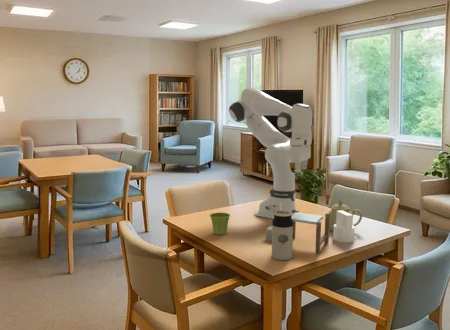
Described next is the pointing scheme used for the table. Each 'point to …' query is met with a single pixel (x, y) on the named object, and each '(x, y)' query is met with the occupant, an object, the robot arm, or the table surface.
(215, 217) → the plant pot
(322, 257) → the table surface
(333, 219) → the olive teapot
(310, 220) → the trapdoor
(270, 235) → the stone
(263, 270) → the table surface
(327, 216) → the frame
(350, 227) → the base with upright slab
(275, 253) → the travel mug
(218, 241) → the table surface
